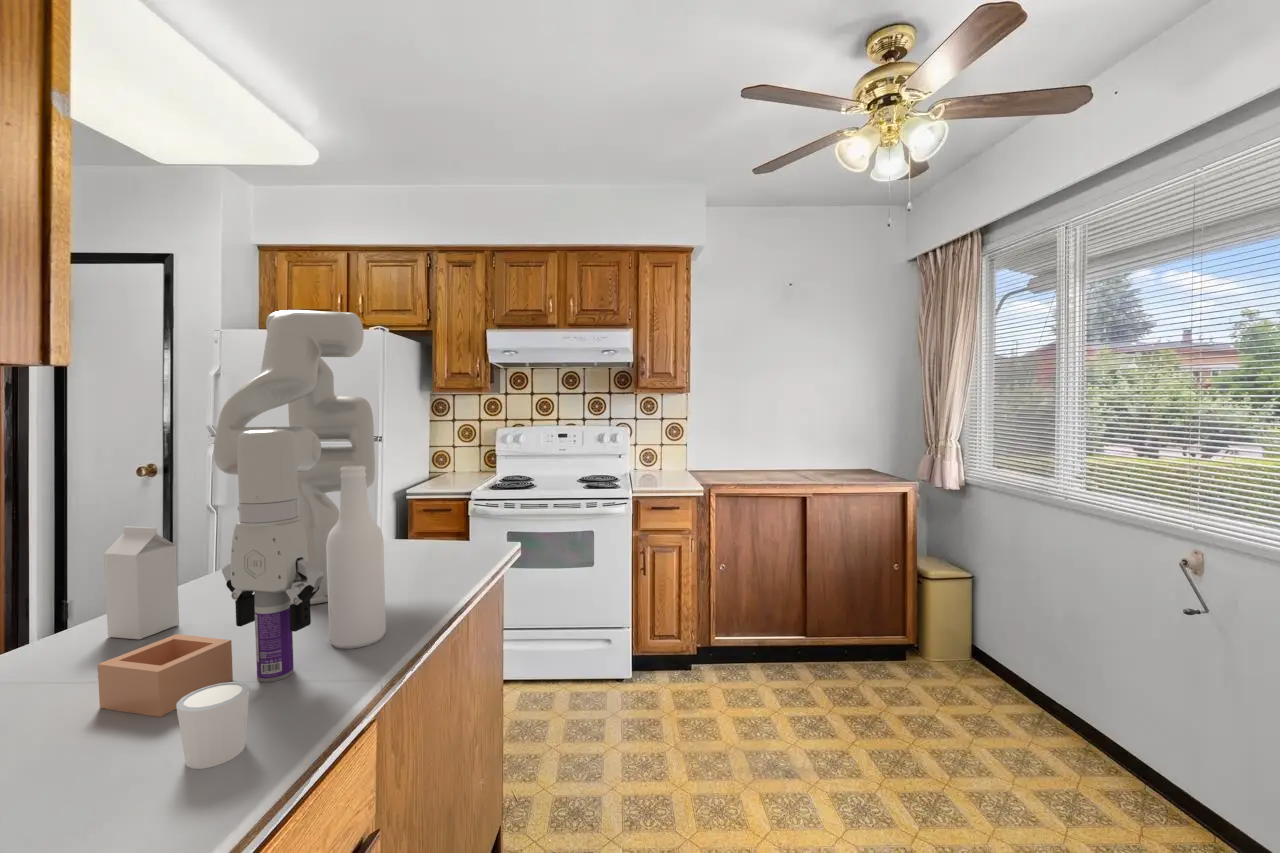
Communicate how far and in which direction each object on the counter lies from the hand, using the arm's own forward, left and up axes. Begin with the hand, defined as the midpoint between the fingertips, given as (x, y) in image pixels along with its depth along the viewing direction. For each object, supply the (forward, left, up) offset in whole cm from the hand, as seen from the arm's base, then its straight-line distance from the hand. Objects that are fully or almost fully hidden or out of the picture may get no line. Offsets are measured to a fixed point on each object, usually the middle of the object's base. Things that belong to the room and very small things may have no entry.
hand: (273, 625), depth 87 cm
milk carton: (-9, -38, -8) cm, 40 cm away
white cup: (+18, +10, -8) cm, 22 cm away
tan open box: (+8, -10, -8) cm, 15 cm away
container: (0, 0, -8) cm, 8 cm away
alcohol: (-14, +3, -8) cm, 16 cm away
